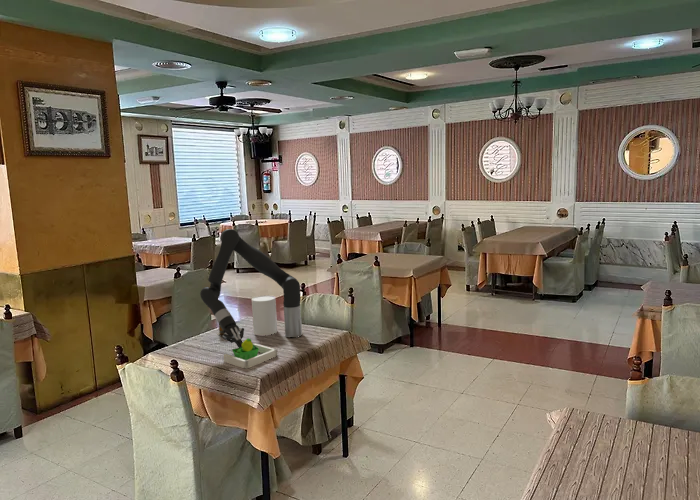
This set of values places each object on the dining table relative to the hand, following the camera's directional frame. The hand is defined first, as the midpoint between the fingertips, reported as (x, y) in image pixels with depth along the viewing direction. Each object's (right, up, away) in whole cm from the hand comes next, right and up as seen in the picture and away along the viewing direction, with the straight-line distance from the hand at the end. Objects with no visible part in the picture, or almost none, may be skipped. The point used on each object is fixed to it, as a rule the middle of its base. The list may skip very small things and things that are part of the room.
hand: (241, 347), depth 250 cm
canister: (+5, +1, +39) cm, 40 cm away
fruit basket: (+3, -5, -3) cm, 7 cm away
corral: (+5, -5, -3) cm, 8 cm away
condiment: (-18, 0, +38) cm, 42 cm away
